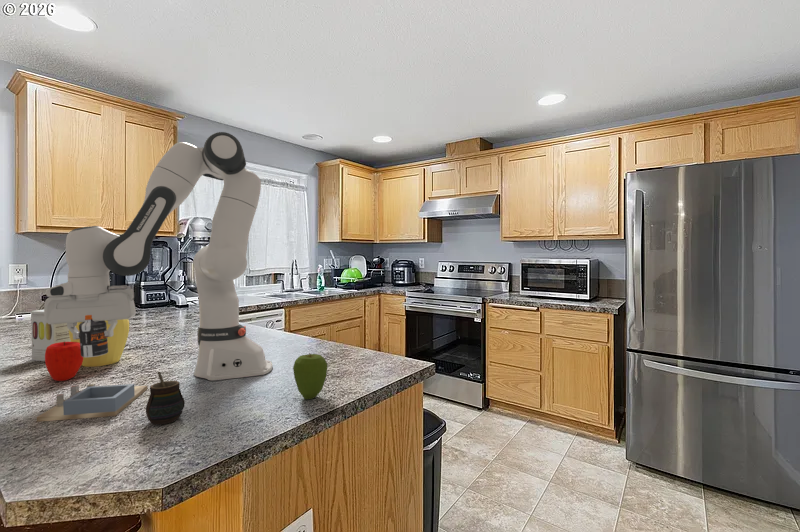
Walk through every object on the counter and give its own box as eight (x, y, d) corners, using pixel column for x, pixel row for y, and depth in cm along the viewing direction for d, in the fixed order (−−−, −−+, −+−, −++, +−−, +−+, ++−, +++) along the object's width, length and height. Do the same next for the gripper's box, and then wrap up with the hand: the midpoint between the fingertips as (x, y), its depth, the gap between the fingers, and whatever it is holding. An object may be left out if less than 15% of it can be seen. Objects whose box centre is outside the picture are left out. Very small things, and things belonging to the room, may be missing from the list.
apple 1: (91, 376, 118) (91, 339, 118) (58, 385, 110) (57, 346, 110) (71, 373, 121) (70, 337, 121) (37, 381, 113) (36, 343, 113)
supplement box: (30, 360, 135) (29, 310, 135) (58, 353, 144) (57, 307, 144) (54, 361, 134) (53, 311, 133) (80, 355, 143) (79, 308, 142)
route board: (147, 389, 107) (147, 385, 107) (115, 415, 89) (115, 410, 89) (82, 393, 104) (82, 389, 104) (36, 421, 86) (36, 416, 86)
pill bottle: (93, 358, 105) (90, 315, 104) (75, 357, 106) (71, 315, 106) (114, 351, 111) (110, 311, 110) (96, 351, 112) (92, 311, 111)
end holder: (134, 395, 99) (134, 383, 99) (115, 411, 89) (115, 398, 89) (88, 399, 97) (87, 386, 97) (63, 415, 87) (63, 401, 87)
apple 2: (315, 406, 95) (315, 358, 95) (285, 401, 98) (285, 355, 98) (333, 394, 103) (333, 350, 103) (305, 390, 106) (305, 347, 106)
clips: (96, 393, 101) (96, 383, 101) (78, 405, 93) (78, 394, 93) (73, 395, 99) (73, 385, 99) (52, 407, 91) (52, 396, 91)
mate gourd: (156, 430, 82) (155, 382, 82) (138, 422, 86) (137, 376, 86) (191, 418, 88) (190, 373, 88) (172, 411, 92) (171, 368, 92)
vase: (106, 369, 125) (105, 280, 124) (55, 369, 125) (53, 279, 124) (140, 356, 141) (139, 277, 140) (95, 356, 141) (94, 277, 140)
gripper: (137, 283, 113) (141, 332, 114) (53, 287, 108) (57, 338, 109) (128, 285, 107) (131, 336, 108) (38, 290, 102) (42, 343, 103)
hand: (93, 337), depth 108 cm, fingers closed on pill bottle, 6 cm apart
